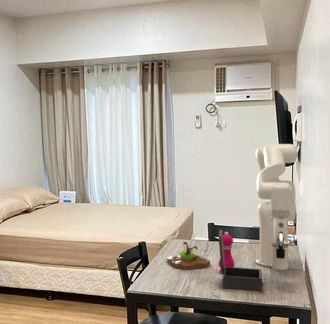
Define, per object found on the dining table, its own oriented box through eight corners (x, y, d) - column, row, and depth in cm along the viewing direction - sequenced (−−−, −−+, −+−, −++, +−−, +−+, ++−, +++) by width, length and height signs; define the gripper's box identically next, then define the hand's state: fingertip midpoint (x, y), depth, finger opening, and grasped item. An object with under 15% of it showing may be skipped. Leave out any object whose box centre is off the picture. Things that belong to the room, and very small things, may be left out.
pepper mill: (232, 276, 224) (232, 233, 223) (216, 274, 228) (216, 232, 226) (236, 272, 230) (236, 231, 229) (221, 270, 234) (221, 229, 233)
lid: (222, 229, 217) (220, 229, 217) (220, 236, 203) (218, 236, 203) (225, 265, 217) (223, 265, 218) (223, 274, 204) (221, 274, 204)
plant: (193, 257, 259) (193, 236, 258) (215, 266, 241) (215, 244, 240) (160, 261, 252) (160, 240, 251) (181, 271, 233) (181, 248, 233)
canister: (282, 265, 207) (282, 242, 206) (291, 269, 200) (292, 245, 200) (268, 266, 206) (268, 242, 205) (277, 270, 199) (277, 246, 199)
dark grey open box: (261, 283, 213) (261, 269, 213) (261, 293, 199) (262, 278, 199) (224, 280, 218) (224, 266, 218) (222, 290, 204) (222, 275, 204)
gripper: (291, 217, 192) (291, 261, 193) (288, 211, 209) (287, 251, 210) (271, 217, 195) (271, 260, 196) (269, 210, 211) (269, 250, 212)
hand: (279, 255), depth 203 cm, fingers closed on canister, 6 cm apart
